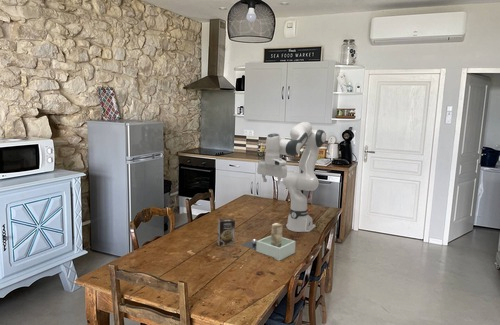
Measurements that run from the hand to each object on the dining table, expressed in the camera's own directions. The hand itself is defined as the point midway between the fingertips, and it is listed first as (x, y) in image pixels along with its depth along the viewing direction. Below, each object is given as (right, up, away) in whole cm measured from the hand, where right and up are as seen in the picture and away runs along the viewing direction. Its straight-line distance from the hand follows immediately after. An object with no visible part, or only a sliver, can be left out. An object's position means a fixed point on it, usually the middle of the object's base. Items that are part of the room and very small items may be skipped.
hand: (271, 183), depth 228 cm
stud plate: (-10, -38, -4) cm, 39 cm away
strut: (+2, -39, -13) cm, 41 cm away
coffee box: (-27, -37, -4) cm, 47 cm away
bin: (+2, -40, -12) cm, 41 cm away
